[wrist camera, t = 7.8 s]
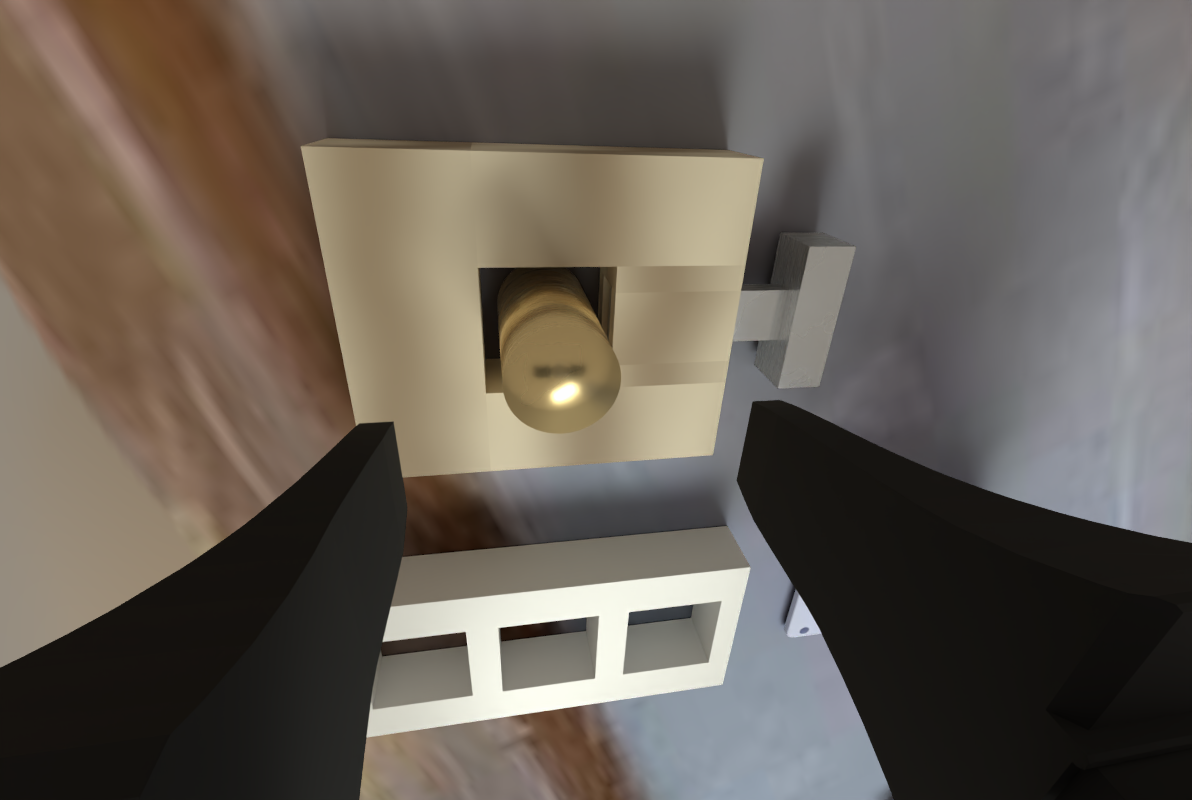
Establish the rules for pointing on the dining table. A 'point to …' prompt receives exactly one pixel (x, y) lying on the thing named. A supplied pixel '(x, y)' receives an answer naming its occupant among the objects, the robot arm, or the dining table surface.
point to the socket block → (531, 239)
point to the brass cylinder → (553, 352)
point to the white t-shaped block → (794, 308)
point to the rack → (552, 593)
